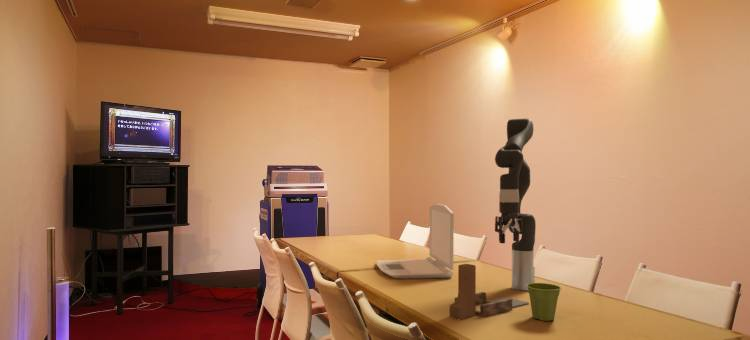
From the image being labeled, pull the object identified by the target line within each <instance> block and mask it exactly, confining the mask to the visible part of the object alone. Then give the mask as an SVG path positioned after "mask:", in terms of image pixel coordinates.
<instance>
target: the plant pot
mask: <svg viewBox="0 0 750 340" xmlns="http://www.w3.org/2000/svg"><path fill="white" fill-rule="evenodd" d="M526 287H528V295H529V301H530V302H529V303H530V307H531V315H532V318H534V319H535V320H536V319H537V320H539V321H542V322H543V321H544V322H545V321H547V322H549V321H553V320H555V317H556V309H557V304H558V300H559V299H558V298H559V296H560V292H561V290H562V287H561V286H559V285H557V284H551V283H546V282H535V283H529V284H526Z"/></svg>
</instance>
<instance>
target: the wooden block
mask: <svg viewBox="0 0 750 340" xmlns="http://www.w3.org/2000/svg"><path fill="white" fill-rule="evenodd" d="M476 268H477V267H476V265H475V264H469V263H463V264H459V265H458V268H457V269H458V272H457V273H458V277H457V279H458V280H457V281H458V282H457V283H458V284H457V285H458V286H457V287H458V290H457V291H458V293H457V300H456V301H455V300H454V302H453V303H451V304H449V318H451V317H453V318H452V319H454V318H456V319H455V320H457V319H460V320H463V318H464V319H468V318H472V317H476V315H475V310H476V305H475V304H476V292H477V291H476V288H477V285H476V282H477V281H476V277H477V276H476V275H477V274H476ZM467 317H468V318H467Z"/></svg>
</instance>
